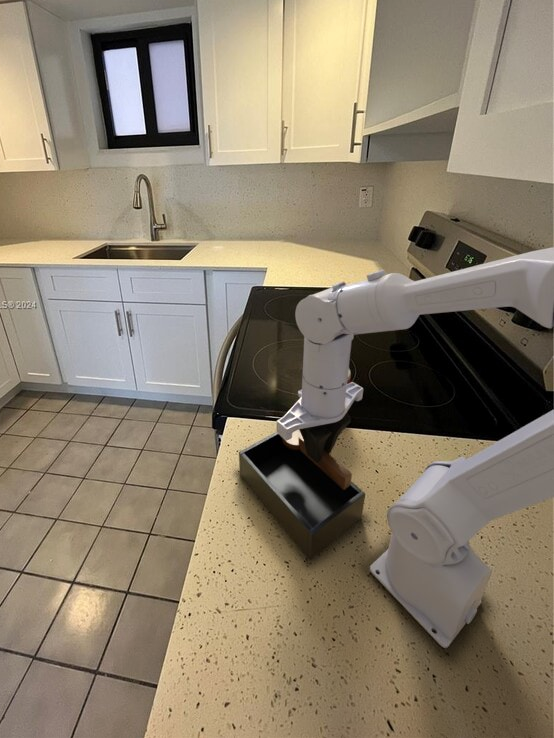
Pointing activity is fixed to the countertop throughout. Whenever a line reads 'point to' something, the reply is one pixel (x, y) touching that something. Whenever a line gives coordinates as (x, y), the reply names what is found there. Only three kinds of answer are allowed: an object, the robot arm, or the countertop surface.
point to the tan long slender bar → (322, 461)
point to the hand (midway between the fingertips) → (318, 454)
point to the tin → (300, 494)
